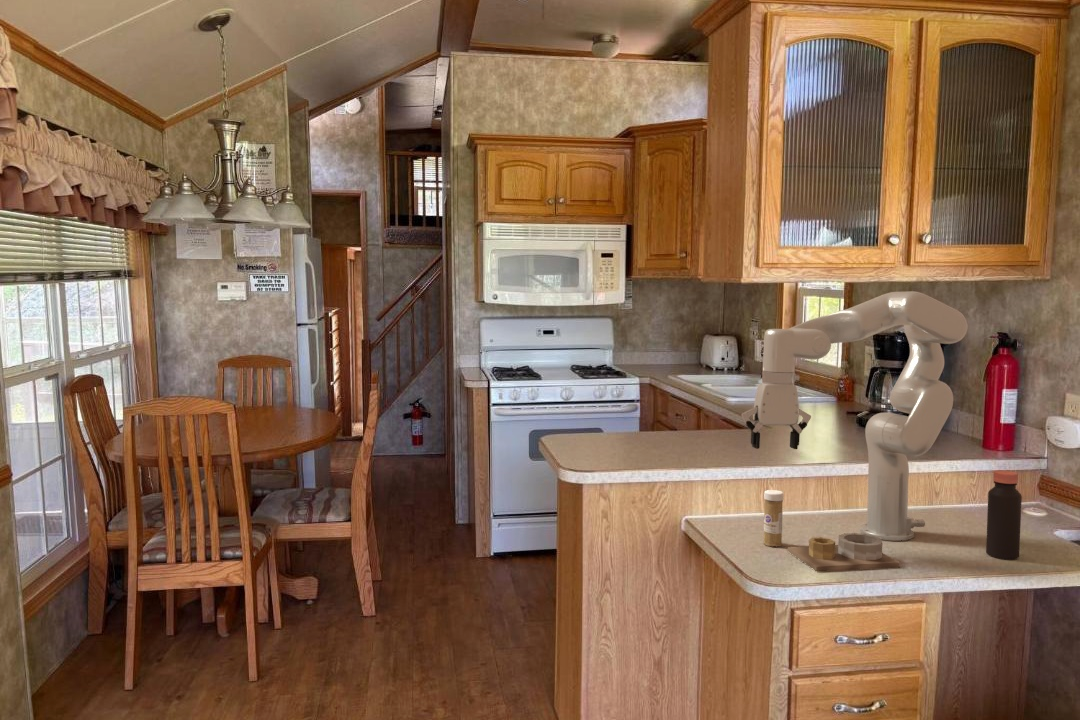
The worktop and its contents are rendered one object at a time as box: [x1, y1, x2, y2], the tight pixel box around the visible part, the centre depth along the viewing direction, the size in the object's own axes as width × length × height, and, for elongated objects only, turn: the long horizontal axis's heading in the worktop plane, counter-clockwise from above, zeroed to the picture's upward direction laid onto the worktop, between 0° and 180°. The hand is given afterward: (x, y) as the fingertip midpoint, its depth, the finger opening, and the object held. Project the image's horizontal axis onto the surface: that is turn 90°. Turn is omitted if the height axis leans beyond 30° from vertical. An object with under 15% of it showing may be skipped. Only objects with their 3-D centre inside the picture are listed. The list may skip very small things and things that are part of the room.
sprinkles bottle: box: [762, 489, 784, 548], centre depth 190 cm, size 5×5×13 cm
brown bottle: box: [985, 469, 1023, 561], centre depth 181 cm, size 7×7×20 cm
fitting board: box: [787, 532, 900, 572], centre depth 179 cm, size 20×14×5 cm
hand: (774, 448), depth 189 cm, fingers open, 9 cm apart
